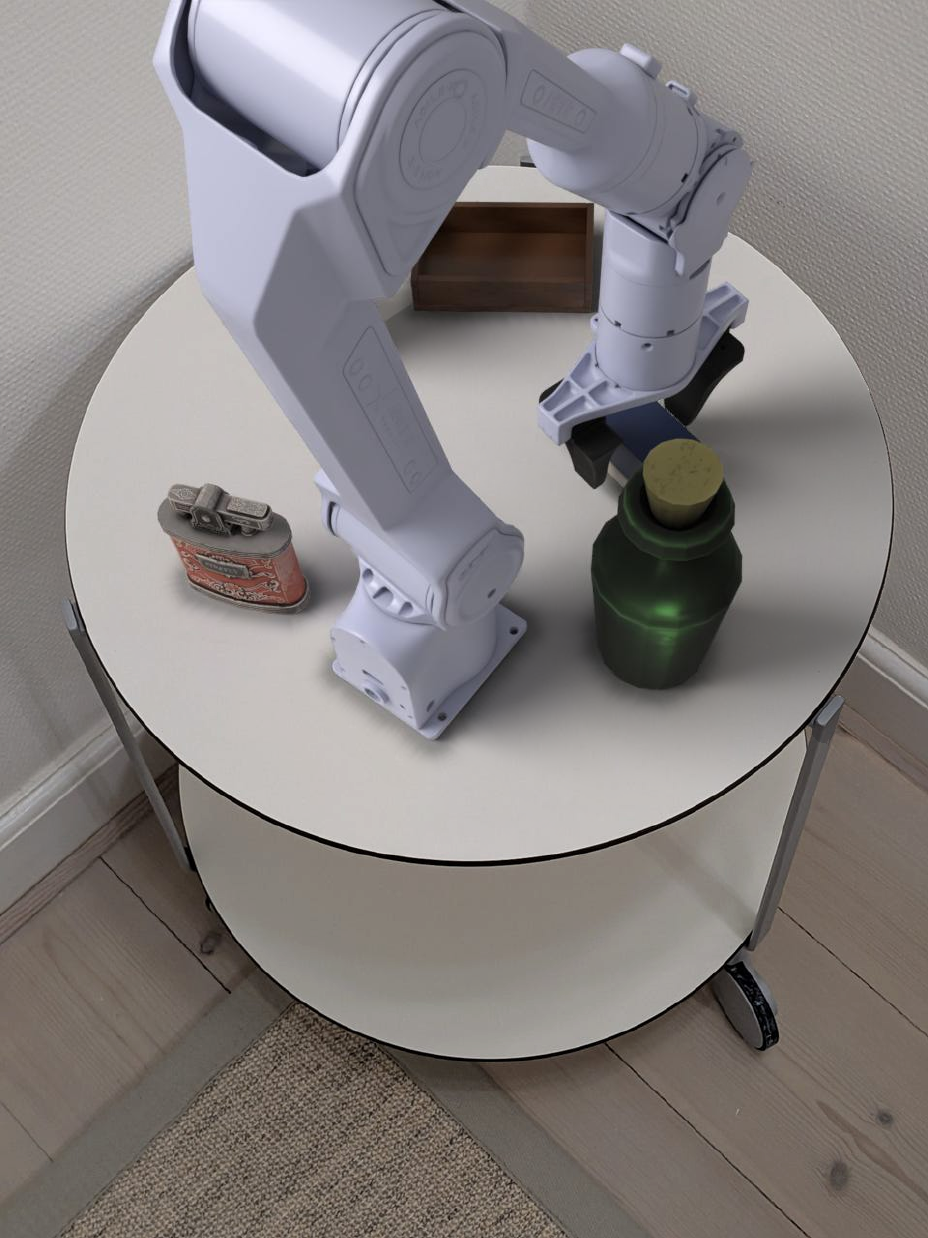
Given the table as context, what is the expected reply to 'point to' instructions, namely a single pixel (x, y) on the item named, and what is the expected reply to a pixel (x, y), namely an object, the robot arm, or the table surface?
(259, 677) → the table surface
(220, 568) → the lighter
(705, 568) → the potion bottle
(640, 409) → the chalkboard eraser
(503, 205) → the tray
